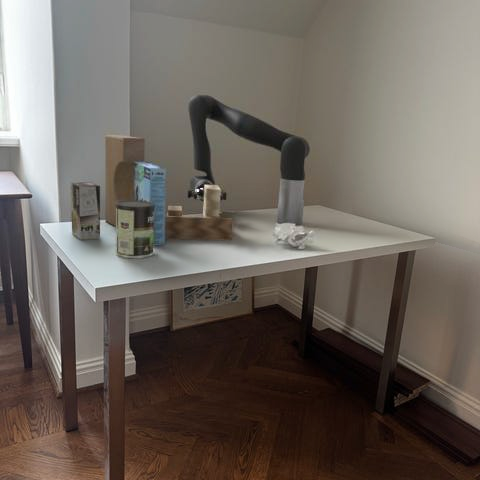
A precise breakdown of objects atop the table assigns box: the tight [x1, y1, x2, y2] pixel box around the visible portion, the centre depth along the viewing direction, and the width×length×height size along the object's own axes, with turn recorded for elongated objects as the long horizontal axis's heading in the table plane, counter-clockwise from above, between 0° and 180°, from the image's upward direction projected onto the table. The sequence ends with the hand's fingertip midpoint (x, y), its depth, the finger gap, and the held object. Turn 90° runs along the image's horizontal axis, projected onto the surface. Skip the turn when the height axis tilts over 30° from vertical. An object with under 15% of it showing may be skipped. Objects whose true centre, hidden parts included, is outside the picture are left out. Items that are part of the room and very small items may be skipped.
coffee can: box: [115, 200, 155, 259], centre depth 128 cm, size 10×10×14 cm
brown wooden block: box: [165, 215, 234, 241], centre depth 155 cm, size 23×14×7 cm, turn 98°
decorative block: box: [104, 134, 146, 228], centre depth 157 cm, size 15×8×30 cm, turn 37°
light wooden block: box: [202, 184, 222, 218], centre depth 155 cm, size 4×10×16 cm, turn 8°
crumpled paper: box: [272, 222, 315, 251], centre depth 149 cm, size 12×7×12 cm
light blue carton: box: [134, 161, 167, 246], centre depth 144 cm, size 20×5×23 cm, turn 25°
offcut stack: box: [166, 205, 183, 216], centre depth 154 cm, size 5×10×9 cm, turn 8°
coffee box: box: [70, 181, 101, 241], centre depth 142 cm, size 9×6×16 cm
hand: (208, 197), depth 165 cm, fingers open, 8 cm apart
